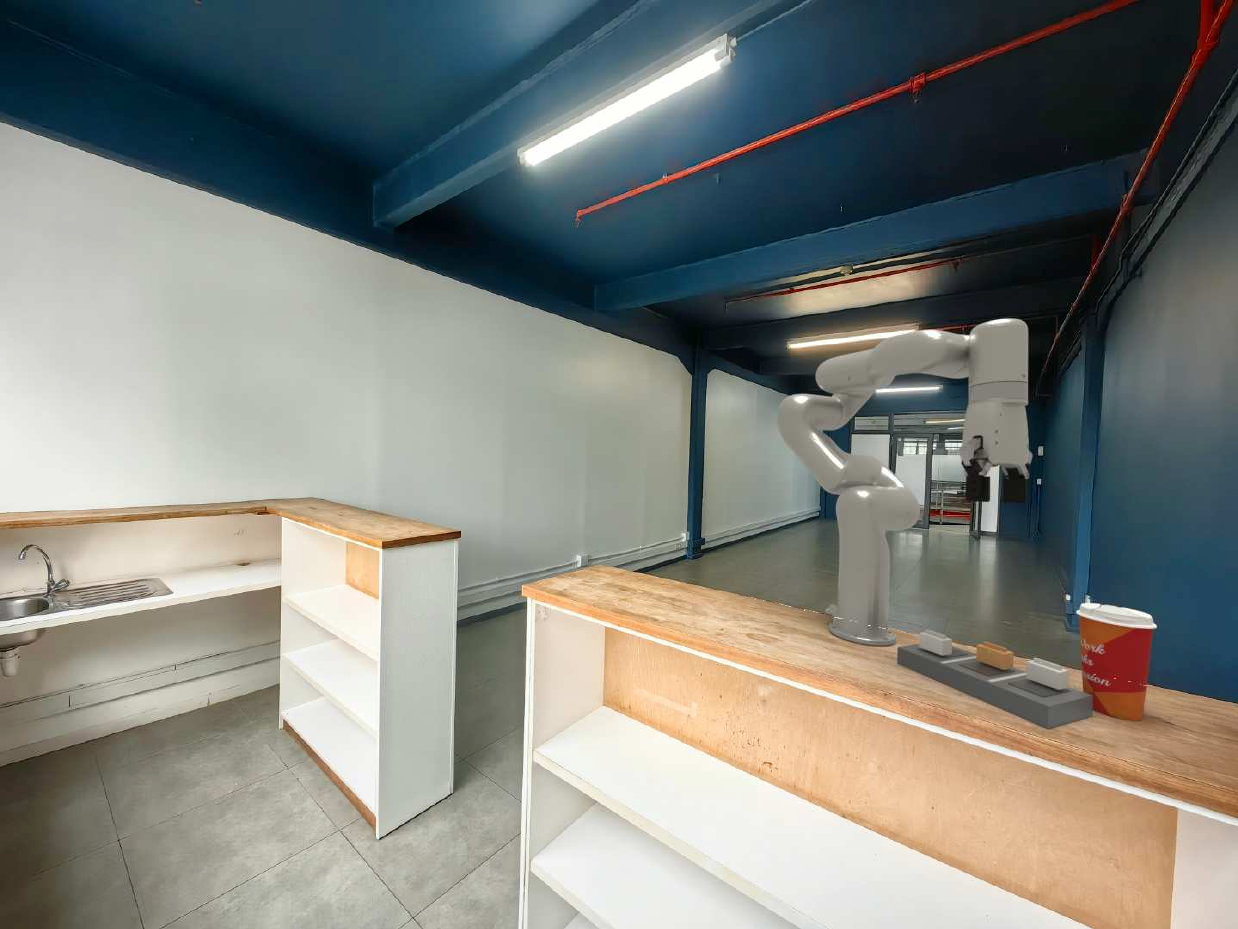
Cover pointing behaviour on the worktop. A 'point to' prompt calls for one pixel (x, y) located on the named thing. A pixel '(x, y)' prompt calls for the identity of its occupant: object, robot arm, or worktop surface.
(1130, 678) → the coffee cup
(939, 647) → the switch
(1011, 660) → the switch
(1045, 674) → the switch
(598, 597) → the worktop surface
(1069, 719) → the switch panel
